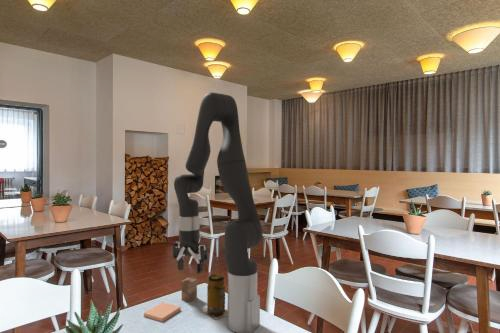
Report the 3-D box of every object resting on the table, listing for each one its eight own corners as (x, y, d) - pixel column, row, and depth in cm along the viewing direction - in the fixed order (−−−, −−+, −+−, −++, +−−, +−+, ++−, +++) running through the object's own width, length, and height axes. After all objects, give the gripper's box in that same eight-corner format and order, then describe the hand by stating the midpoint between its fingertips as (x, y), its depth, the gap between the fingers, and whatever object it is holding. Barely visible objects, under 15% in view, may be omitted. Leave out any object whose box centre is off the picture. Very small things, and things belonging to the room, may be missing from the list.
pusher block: (196, 297, 121) (196, 279, 121) (190, 302, 118) (190, 283, 118) (188, 295, 123) (188, 277, 123) (181, 299, 120) (181, 281, 119)
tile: (180, 306, 111) (162, 318, 103) (180, 311, 111) (162, 323, 103) (162, 302, 115) (143, 312, 107) (162, 306, 115) (143, 317, 107)
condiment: (219, 304, 116) (219, 271, 115) (233, 313, 109) (233, 278, 109) (201, 310, 111) (201, 276, 111) (215, 320, 104) (215, 283, 104)
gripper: (210, 227, 120) (211, 271, 120) (180, 224, 127) (181, 266, 127) (198, 231, 113) (199, 277, 113) (167, 228, 120) (168, 271, 120)
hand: (190, 271), depth 120 cm, fingers open, 8 cm apart
